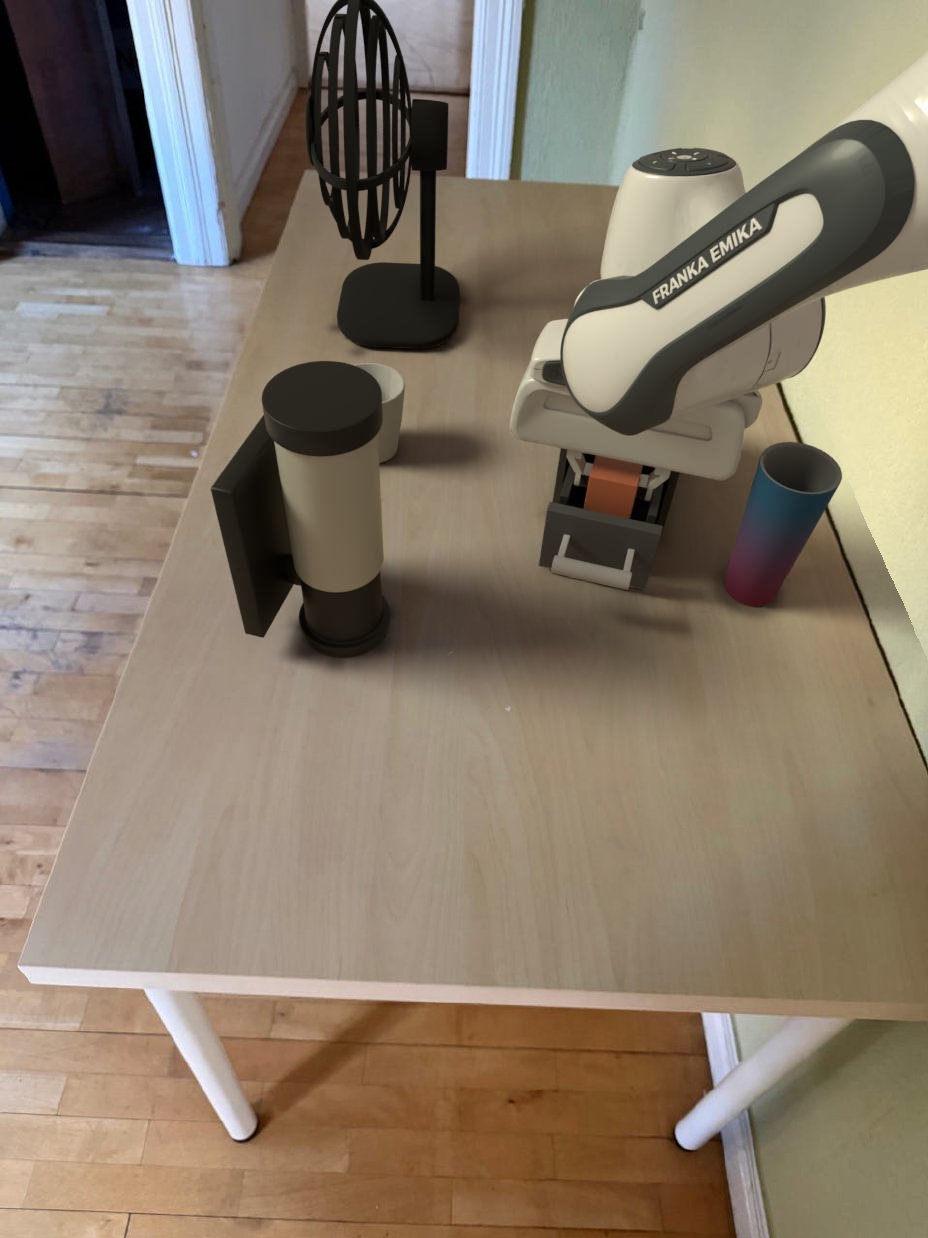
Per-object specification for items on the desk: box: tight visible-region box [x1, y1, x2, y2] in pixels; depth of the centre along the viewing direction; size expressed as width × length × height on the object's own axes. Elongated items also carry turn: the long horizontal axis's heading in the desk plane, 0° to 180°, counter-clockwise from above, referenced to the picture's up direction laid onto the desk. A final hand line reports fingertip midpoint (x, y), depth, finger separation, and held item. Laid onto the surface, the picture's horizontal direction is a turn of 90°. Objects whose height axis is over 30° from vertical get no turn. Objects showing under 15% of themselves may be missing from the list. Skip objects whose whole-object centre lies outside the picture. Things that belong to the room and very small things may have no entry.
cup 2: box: [723, 441, 843, 608], centre depth 79 cm, size 7×7×15 cm
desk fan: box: [305, 0, 461, 350], centre depth 102 cm, size 27×18×35 cm, turn 179°
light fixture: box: [210, 360, 391, 658], centre depth 71 cm, size 12×11×25 cm
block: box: [584, 455, 643, 519], centre depth 81 cm, size 4×4×4 cm
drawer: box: [538, 453, 664, 591], centre depth 84 cm, size 18×10×7 cm, turn 164°
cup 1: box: [353, 362, 406, 464], centre depth 93 cm, size 8×10×8 cm
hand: (612, 489), depth 82 cm, fingers closed on block, 4 cm apart
